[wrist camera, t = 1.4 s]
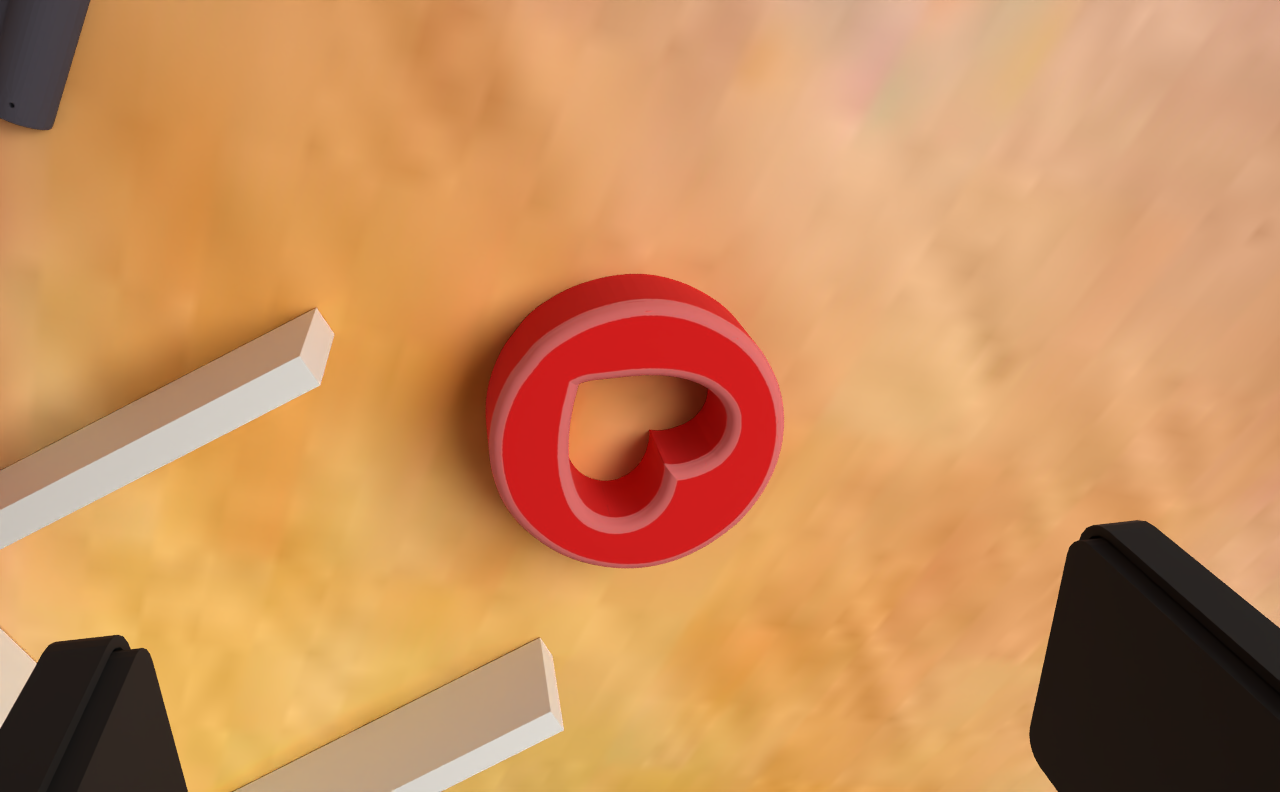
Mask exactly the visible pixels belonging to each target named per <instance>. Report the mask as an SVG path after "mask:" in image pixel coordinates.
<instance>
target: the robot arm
mask: <svg viewBox="0 0 1280 792" xmlns="http://www.w3.org/2000/svg"><path fill="white" fill-rule="evenodd" d="M1029 736H1030V744H1031V748H1032V752H1033V754H1034V757H1035V759H1036V761H1037V763H1038V764H1039V766H1040V768H1041V769H1042V770H1043V772H1044V773H1045V774H1046V776H1047V777H1048V779H1049V780H1050V781H1051V783H1052V784H1053V785H1054V787H1055V788H1056V790H1057V791H1058V792H1280V628H1279V627H1278V626H1276V625H1275V624H1274V623H1273V622H1271V621H1270V620H1269V619H1268V618H1266V617H1265V616H1264V615H1263V614H1262V613H1260V612H1259V611H1258V610H1257V609H1255V608H1254V607H1253V606H1252V605H1250V604H1249V603H1248V602H1247V601H1246V600H1244V599H1243V598H1242V597H1241V596H1239V595H1238V594H1237V593H1236V592H1235V591H1233V590H1232V589H1231V588H1230V587H1228V586H1227V585H1226V584H1225V583H1223V582H1222V581H1221V580H1220V579H1219V578H1217V577H1216V576H1215V575H1214V574H1212V573H1211V572H1210V571H1209V570H1207V569H1206V568H1205V567H1204V566H1203V565H1201V564H1200V563H1199V562H1198V561H1196V560H1195V559H1194V558H1193V557H1191V556H1190V555H1189V554H1188V553H1187V552H1185V551H1184V550H1183V549H1182V548H1180V547H1179V546H1178V545H1177V544H1175V543H1174V542H1173V541H1172V540H1171V539H1169V538H1168V537H1167V536H1166V535H1164V534H1163V533H1162V532H1161V531H1159V530H1158V529H1157V528H1156V527H1155V526H1153V525H1151V524H1150V523H1148V522H1146V521H1139V520H1136V521H1127V522H1118V523H1109V524H1100V525H1093V526H1090V527H1088V528H1086V529H1085V531H1084V532H1083V533H1082V534H1081V537H1080V540H1079V541H1076V542H1074V543H1073V544H1072V545H1071V546H1070V547H1069V550H1068V553H1067V557H1066V562H1065V566H1064V571H1063V576H1062V580H1061V585H1060V590H1059V594H1058V599H1057V604H1056V608H1055V613H1054V618H1053V622H1052V627H1051V632H1050V636H1049V641H1048V646H1047V650H1046V655H1045V660H1044V664H1043V669H1042V674H1041V678H1040V683H1039V688H1038V692H1037V697H1036V702H1035V706H1034V711H1033V716H1032V720H1031V725H1030V733H1029ZM0 792H188V790H187V787H186V783H185V779H184V776H183V772H182V768H181V764H180V761H179V757H178V753H177V750H176V746H175V742H174V739H173V735H172V731H171V727H170V724H169V720H168V716H167V713H166V709H165V705H164V702H163V698H162V694H161V691H160V687H159V683H158V679H157V676H156V672H155V668H154V665H153V661H152V658H151V656H150V653H149V652H148V651H147V649H144V648H139V649H130V647H129V644H128V642H127V641H126V639H125V638H124V637H123V636H120V635H113V636H104V637H95V638H86V639H77V640H68V641H59V642H54V643H52V644H50V645H49V646H48V647H47V648H46V649H45V651H44V652H43V654H42V655H41V657H40V659H39V661H38V662H37V664H36V666H35V668H34V670H33V671H32V673H31V675H30V677H29V678H28V680H27V682H26V684H25V685H24V687H23V689H22V691H21V693H20V694H19V696H18V698H17V700H16V701H15V703H14V705H13V707H12V708H11V710H10V712H9V714H8V716H7V717H6V719H5V721H4V723H3V724H2V726H1V728H0Z"/></svg>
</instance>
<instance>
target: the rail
mask: <svg viewBox="0 0 1280 792" xmlns="http://www.w3.org/2000/svg"><path fill="white" fill-rule="evenodd" d="M333 337H334V333H333V331H332V330H331V328H330V327H329V325H328V324H327V322H326V321H325V319H324V318H323V317H322V315H321V314H320V312H319V311H318V309H317V308H315V309H313V310H311V311H309V312H307V313H305V314H303V315H301V316H299V317H297V318H295V319H293V320H291V321H289V322H288V323H286V324H284V325H282V326H280V327H278V328H276V329H274V330H272V331H270V332H268V333H266V334H264V335H262V336H260V337H258V338H257V339H255V340H253V341H251V342H249V343H247V344H245V345H243V346H241V347H239V348H237V349H235V350H233V351H231V352H229V353H227V354H225V355H224V356H222V357H220V358H218V359H216V360H214V361H212V362H210V363H208V364H206V365H204V366H202V367H200V368H198V369H196V370H194V371H193V372H191V373H189V374H187V375H185V376H183V377H181V378H179V379H177V380H175V381H173V382H171V383H169V384H167V385H165V386H163V387H162V388H160V389H158V390H156V391H154V392H152V393H150V394H148V395H146V396H144V397H142V398H140V399H138V400H136V401H134V402H132V403H131V404H129V405H127V406H125V407H123V408H121V409H119V410H117V411H115V412H113V413H111V414H109V415H107V416H105V417H103V418H101V419H99V420H98V421H96V422H94V423H92V424H90V425H88V426H86V427H84V428H82V429H80V430H78V431H76V432H74V433H72V434H70V435H68V436H67V437H65V438H63V439H61V440H59V441H57V442H55V443H53V444H51V445H49V446H47V447H45V448H43V449H41V450H39V451H37V452H36V453H34V454H32V455H30V456H28V457H26V458H24V459H22V460H20V461H18V462H16V463H14V464H12V465H10V466H8V467H6V468H5V469H3V470H1V471H0V549H2V548H4V547H6V546H8V545H10V544H12V543H14V542H16V541H18V540H20V539H22V538H24V537H26V536H28V535H30V534H32V533H33V532H35V531H37V530H39V529H41V528H43V527H45V526H47V525H49V524H51V523H53V522H55V521H57V520H59V519H61V518H63V517H65V516H67V515H69V514H70V513H72V512H74V511H76V510H78V509H80V508H82V507H84V506H86V505H88V504H90V503H92V502H94V501H96V500H98V499H100V498H102V497H104V496H106V495H107V494H109V493H111V492H113V491H115V490H117V489H119V488H121V487H123V486H125V485H127V484H129V483H131V482H133V481H135V480H137V479H139V478H141V477H143V476H144V475H146V474H148V473H150V472H152V471H154V470H156V469H158V468H160V467H162V466H164V465H166V464H168V463H170V462H172V461H174V460H176V459H178V458H180V457H181V456H183V455H185V454H187V453H189V452H191V451H193V450H195V449H197V448H199V447H201V446H203V445H205V444H207V443H209V442H211V441H213V440H215V439H217V438H218V437H220V436H222V435H224V434H226V433H228V432H230V431H232V430H234V429H236V428H238V427H240V426H242V425H244V424H246V423H248V422H250V421H252V420H254V419H255V418H257V417H259V416H261V415H263V414H265V413H267V412H269V411H271V410H273V409H275V408H277V407H279V406H281V405H283V404H285V403H287V402H289V401H291V400H292V399H294V398H296V397H298V396H300V395H302V394H304V393H306V392H308V391H310V390H312V389H314V388H316V387H318V386H320V385H321V381H322V377H323V374H324V370H325V366H326V363H327V359H328V356H329V352H330V348H331V345H332V341H333ZM36 664H37V663H36V662H35V661H34V660H33V659H32V658H31V657H30V656H29V655H28V654H27V653H25V652H24V651H23V650H22V649H21V648H20V647H19V646H18V645H17V644H16V643H15V642H14V641H13V640H12V639H11V638H10V637H9V636H8V635H7V634H6V633H5V632H4V631H3V630H2V629H1V628H0V728H1V726H2V724H3V723H4V721H5V719H6V717H7V716H8V714H9V712H10V710H11V708H12V707H13V705H14V703H15V701H16V700H17V698H18V696H19V694H20V693H21V691H22V689H23V687H24V685H25V684H26V682H27V680H28V678H29V677H30V675H31V673H32V671H33V670H34V668H35V666H36ZM563 730H564V727H563V720H562V714H561V708H560V701H559V695H558V689H557V682H556V676H555V670H554V663H553V657H552V654H551V653H550V651H549V650H548V648H547V647H546V645H545V644H544V642H543V641H542V639H541V638H538V639H536V640H534V641H532V642H530V643H528V644H526V645H524V646H522V647H520V648H518V649H516V650H514V651H512V652H510V653H508V654H506V655H504V656H502V657H500V658H498V659H496V660H494V661H492V662H490V663H488V664H486V665H484V666H482V667H480V668H478V669H476V670H474V671H472V672H470V673H468V674H466V675H464V676H462V677H460V678H458V679H456V680H454V681H452V682H450V683H448V684H446V685H444V686H442V687H440V688H438V689H437V690H435V691H433V692H431V693H429V694H427V695H425V696H423V697H421V698H419V699H417V700H415V701H413V702H411V703H409V704H407V705H405V706H403V707H401V708H399V709H397V710H395V711H393V712H391V713H389V714H387V715H385V716H383V717H381V718H379V719H377V720H375V721H373V722H371V723H369V724H367V725H365V726H363V727H361V728H359V729H357V730H355V731H353V732H351V733H349V734H347V735H345V736H343V737H341V738H339V739H337V740H335V741H333V742H331V743H329V744H327V745H325V746H323V747H321V748H319V749H317V750H315V751H313V752H311V753H309V754H307V755H305V756H303V757H301V758H299V759H297V760H295V761H293V762H291V763H289V764H287V765H285V766H283V767H281V768H279V769H277V770H275V771H273V772H271V773H269V774H267V775H265V776H263V777H261V778H259V779H257V780H255V781H253V782H251V783H249V784H247V785H245V786H243V787H241V788H240V789H238V790H236V791H234V792H441V791H443V790H445V789H447V788H449V787H451V786H453V785H455V784H457V783H459V782H461V781H463V780H465V779H467V778H469V777H471V776H473V775H475V774H477V773H479V772H481V771H483V770H485V769H487V768H489V767H491V766H493V765H495V764H497V763H499V762H501V761H503V760H505V759H507V758H509V757H511V756H513V755H515V754H517V753H519V752H521V751H523V750H525V749H527V748H529V747H531V746H533V745H535V744H537V743H539V742H541V741H543V740H545V739H547V738H549V737H551V736H553V735H555V734H557V733H559V732H561V731H563Z"/></svg>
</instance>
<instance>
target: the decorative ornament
mask: <svg viewBox="0 0 1280 792" xmlns="http://www.w3.org/2000/svg"><path fill="white" fill-rule="evenodd" d="M640 375H662V376H672V377H679V378H683V379H687V380H691V381H694V382H697V383H699V384H701V385H703V386H705V387H706V388H708V392H707V397H706V401H705V403H704V405H703V407H702V409H701V410H700V412H699V413H698V414H697V415H696V416H695V417H694V418H693V419H691V420H690V421H688V422H686V423H684V424H682V425H680V426H677V427H674V428H671V429H667V430H649V432H650V436H649V442H648V446H647V449H646V452H645V455H644V457H643V459H642V460H641V462H640V463H639V464H638V466H637V467H636V468H635V469H634V470H633V471H631V472H630V473H629V474H627V475H625V476H623V477H621V478H618V479H615V480H610V481H600V480H595V479H591V478H589V477H587V476H585V475H583V474H582V473H580V472H579V471H578V470H577V469H576V468H575V467H574V466H573V464H572V463H571V461H570V459H569V430H570V421H571V415H572V410H573V404H574V401H575V397H576V393H577V389H578V385H579V384H580V383H583V382H586V381H591V380H599V379H608V378H617V377H626V376H640ZM486 426H487V437H488V447H489V457H490V464H491V470H492V474H493V478H494V481H495V484H496V487H497V490H498V492H499V495H500V497H501V499H502V501H503V503H504V504H505V506H506V508H507V509H508V511H509V512H510V513H511V515H512V516H513V517H514V518H515V519H516V521H517V522H518V523H519V524H520V525H521V526H522V527H523V528H524V529H525V530H526V531H528V532H529V533H530V534H531V535H532V536H534V537H535V538H536V539H538V540H539V541H540V542H542V543H543V544H545V545H546V546H548V547H549V548H551V549H553V550H555V551H556V552H558V553H560V554H563V555H565V556H567V557H569V558H572V559H575V560H578V561H581V562H585V563H589V564H593V565H598V566H604V567H613V568H642V567H649V566H655V565H660V564H664V563H667V562H671V561H674V560H677V559H679V558H682V557H684V556H687V555H689V554H691V553H693V552H695V551H697V550H699V549H701V548H703V547H705V546H706V545H708V544H710V543H711V542H713V541H714V540H716V539H717V538H719V537H720V536H721V535H723V534H724V533H726V532H727V531H728V530H729V529H731V528H732V527H733V526H734V525H736V524H737V523H738V522H739V521H740V520H741V519H742V518H743V517H744V516H745V515H746V514H747V512H748V511H749V510H750V509H751V507H752V506H753V505H754V504H755V502H756V501H757V500H758V498H759V497H760V495H761V494H762V492H763V491H764V489H765V487H766V486H767V484H768V482H769V480H770V478H771V476H772V474H773V472H774V469H775V466H776V464H777V461H778V457H779V454H780V450H781V445H782V440H783V431H784V410H783V402H782V396H781V392H780V389H779V385H778V382H777V379H776V377H775V375H774V372H773V370H772V368H771V366H770V365H769V363H768V361H767V359H766V357H765V356H764V354H763V353H762V351H761V350H760V349H759V347H758V346H757V345H756V344H755V342H754V341H753V340H752V339H751V337H750V336H749V335H748V333H747V332H746V331H745V330H744V328H743V327H742V326H741V325H740V323H739V322H738V321H737V320H736V318H735V317H734V316H733V315H732V314H731V313H730V312H729V311H728V310H727V309H726V308H725V307H724V306H722V305H721V304H720V303H719V302H717V301H716V300H714V299H713V298H711V297H710V296H708V295H706V294H705V293H703V292H701V291H699V290H697V289H695V288H693V287H691V286H689V285H687V284H684V283H682V282H679V281H676V280H673V279H669V278H665V277H661V276H655V275H647V274H625V275H615V276H609V277H604V278H600V279H595V280H592V281H588V282H585V283H582V284H579V285H577V286H574V287H572V288H569V289H567V290H565V291H563V292H561V293H559V294H557V295H556V296H554V297H552V298H551V299H549V300H547V301H546V302H544V303H543V304H541V305H540V306H538V307H537V308H536V309H535V310H533V311H532V312H531V313H530V314H529V315H528V316H527V317H526V318H525V319H524V320H523V321H522V323H521V324H520V325H519V327H518V328H517V329H516V330H515V332H514V333H513V334H512V335H511V337H510V338H509V339H508V341H507V342H506V344H505V345H504V347H503V348H502V350H501V352H500V354H499V356H498V358H497V361H496V363H495V366H494V368H493V371H492V374H491V377H490V381H489V385H488V390H487V397H486Z"/></svg>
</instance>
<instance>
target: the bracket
mask: <svg viewBox="0 0 1280 792" xmlns="http://www.w3.org/2000/svg"><path fill="white" fill-rule="evenodd" d="M89 2H90V0H0V118H1V119H4V120H6V121H8V122H11V123H14V124H17V125H20V126H24V127H28V128H33V129H39V130H49V129H51V128H52V127H53V124H54V121H55V117H56V114H57V111H58V107H59V104H60V100H61V97H62V94H63V90H64V87H65V84H66V80H67V77H68V73H69V70H70V67H71V63H72V60H73V56H74V53H75V50H76V46H77V43H78V40H79V36H80V33H81V29H82V26H83V23H84V19H85V16H86V12H87V9H88V6H89Z"/></svg>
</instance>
